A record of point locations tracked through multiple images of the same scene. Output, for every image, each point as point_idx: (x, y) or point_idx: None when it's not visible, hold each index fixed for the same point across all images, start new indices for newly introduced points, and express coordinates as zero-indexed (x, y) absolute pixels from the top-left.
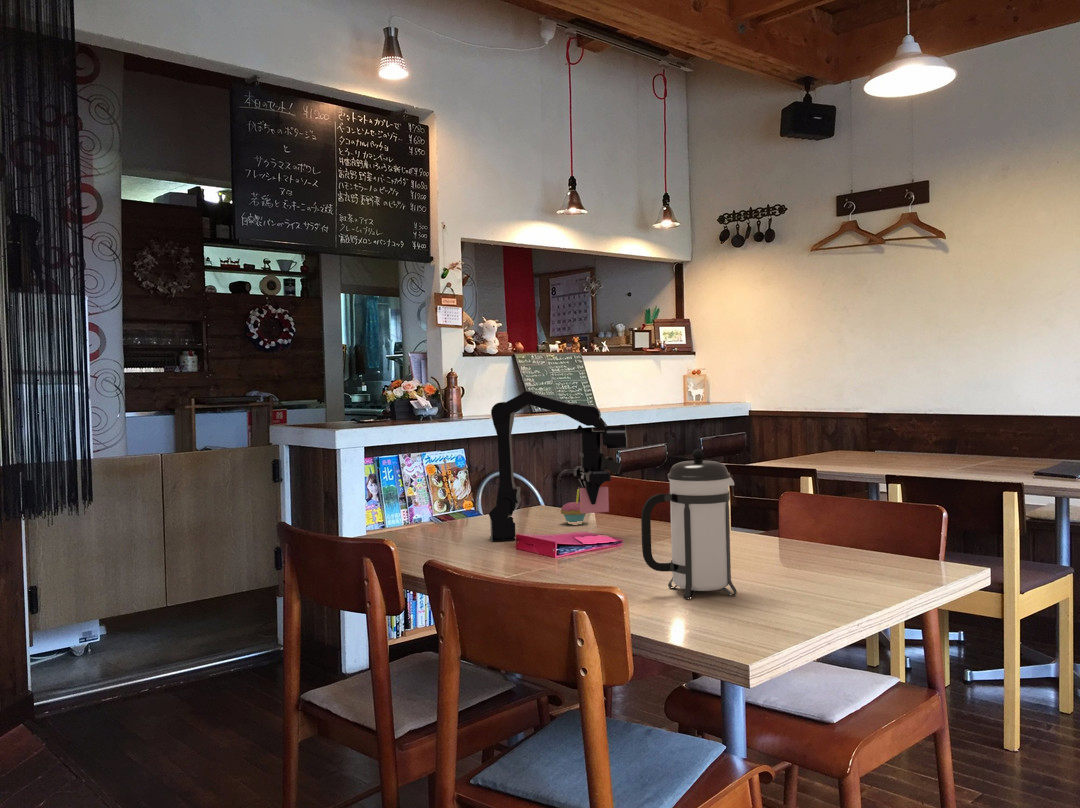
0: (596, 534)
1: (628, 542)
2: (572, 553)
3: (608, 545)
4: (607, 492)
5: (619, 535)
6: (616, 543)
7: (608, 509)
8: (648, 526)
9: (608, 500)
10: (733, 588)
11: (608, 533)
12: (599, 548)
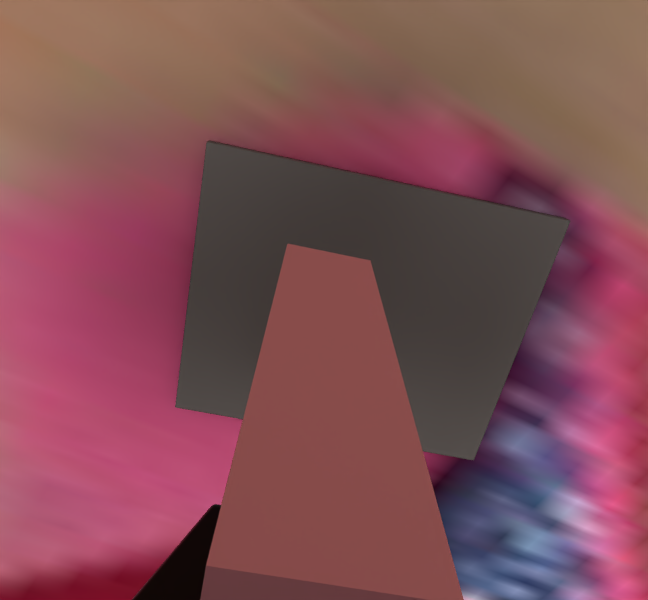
0: (109, 190)
1: (605, 137)
2: (632, 583)
3: (590, 329)
4: (413, 474)
5: (257, 24)
6: (569, 244)
7: (373, 277)
8: None
9: (389, 337)
10: None
11: (105, 66)
12: (631, 420)
